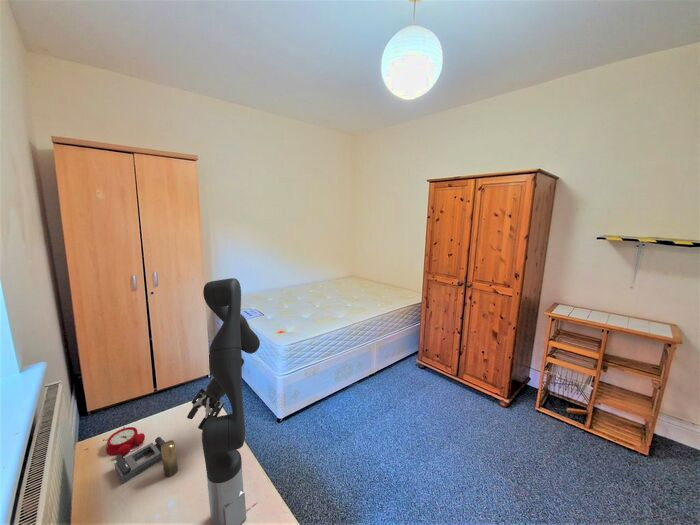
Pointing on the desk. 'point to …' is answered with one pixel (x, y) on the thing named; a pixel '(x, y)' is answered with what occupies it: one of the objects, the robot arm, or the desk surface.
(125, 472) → the grey roller frame base
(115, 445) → the alarm clock
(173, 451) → the bronze pin
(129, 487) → the desk surface
